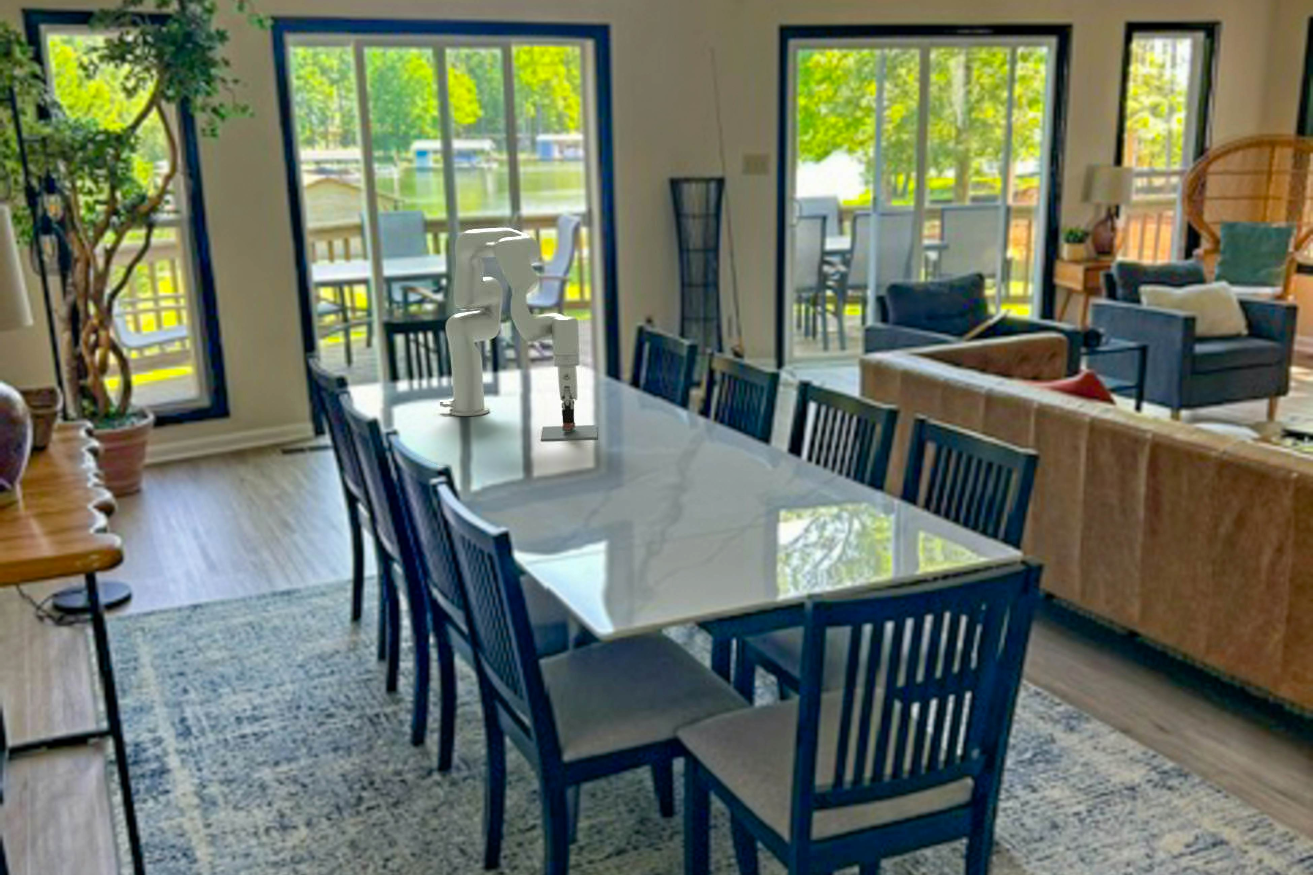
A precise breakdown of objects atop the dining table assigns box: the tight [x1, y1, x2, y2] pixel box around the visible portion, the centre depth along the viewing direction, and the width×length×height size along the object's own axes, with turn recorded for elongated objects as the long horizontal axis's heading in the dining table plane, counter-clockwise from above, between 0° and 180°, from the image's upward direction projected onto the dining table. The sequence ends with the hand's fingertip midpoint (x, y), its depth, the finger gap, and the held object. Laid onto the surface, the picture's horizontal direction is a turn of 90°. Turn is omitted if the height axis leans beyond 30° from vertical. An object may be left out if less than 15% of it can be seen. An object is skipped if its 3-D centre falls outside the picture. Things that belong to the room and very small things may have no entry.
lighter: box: [561, 398, 576, 431], centre depth 327 cm, size 8×3×10 cm, turn 174°
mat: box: [540, 424, 598, 442], centre depth 329 cm, size 16×15×1 cm
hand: (568, 419), depth 328 cm, fingers closed on lighter, 8 cm apart
